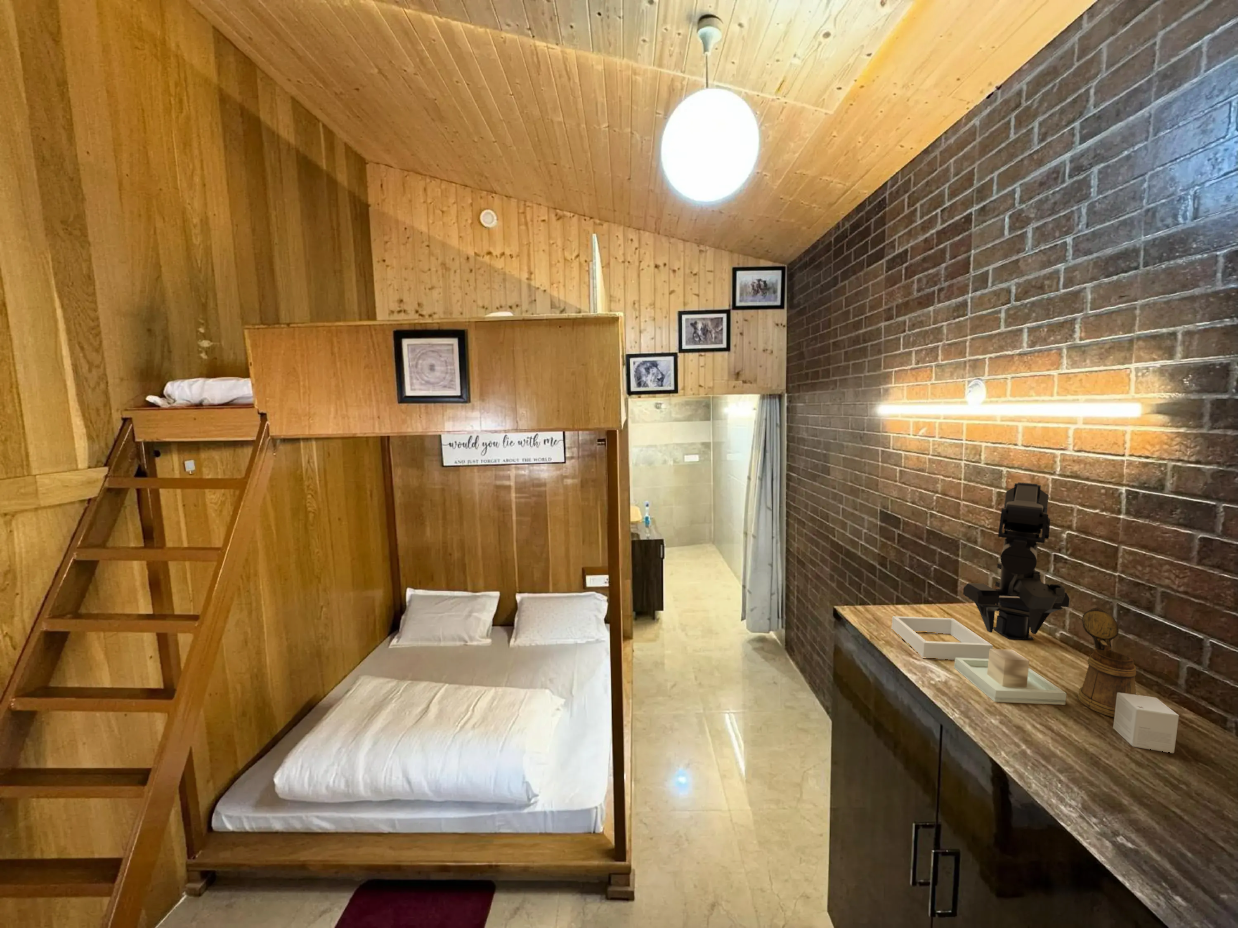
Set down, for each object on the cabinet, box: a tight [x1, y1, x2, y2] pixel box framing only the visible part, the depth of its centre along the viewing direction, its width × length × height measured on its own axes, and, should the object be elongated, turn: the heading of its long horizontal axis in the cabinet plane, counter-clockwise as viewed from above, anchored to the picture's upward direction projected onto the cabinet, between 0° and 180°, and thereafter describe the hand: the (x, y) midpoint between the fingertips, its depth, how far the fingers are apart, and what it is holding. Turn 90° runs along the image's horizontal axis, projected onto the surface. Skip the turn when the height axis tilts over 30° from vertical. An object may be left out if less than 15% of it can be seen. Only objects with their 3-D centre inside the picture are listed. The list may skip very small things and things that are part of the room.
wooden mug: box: [1077, 606, 1137, 718], centre depth 106 cm, size 9×14×18 cm, turn 157°
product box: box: [1112, 693, 1180, 754], centre depth 94 cm, size 6×6×7 cm
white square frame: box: [891, 615, 994, 661], centre depth 132 cm, size 16×16×4 cm
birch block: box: [987, 648, 1030, 687], centre depth 112 cm, size 5×5×6 cm
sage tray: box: [953, 658, 1067, 706], centre depth 113 cm, size 14×14×2 cm
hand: (1011, 632), depth 112 cm, fingers open, 9 cm apart
